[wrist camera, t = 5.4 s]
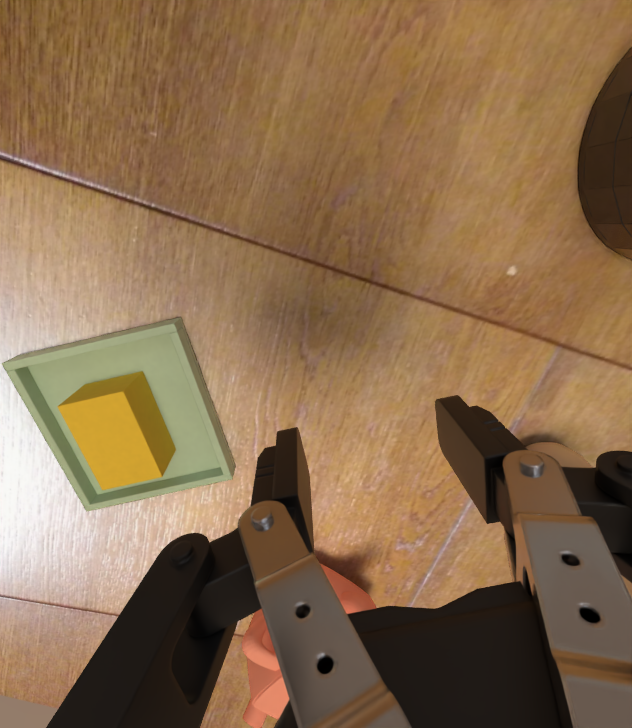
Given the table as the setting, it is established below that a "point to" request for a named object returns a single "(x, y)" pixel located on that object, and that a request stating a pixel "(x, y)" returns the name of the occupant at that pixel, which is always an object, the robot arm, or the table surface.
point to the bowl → (610, 161)
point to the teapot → (263, 661)
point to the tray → (170, 390)
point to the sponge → (119, 430)
